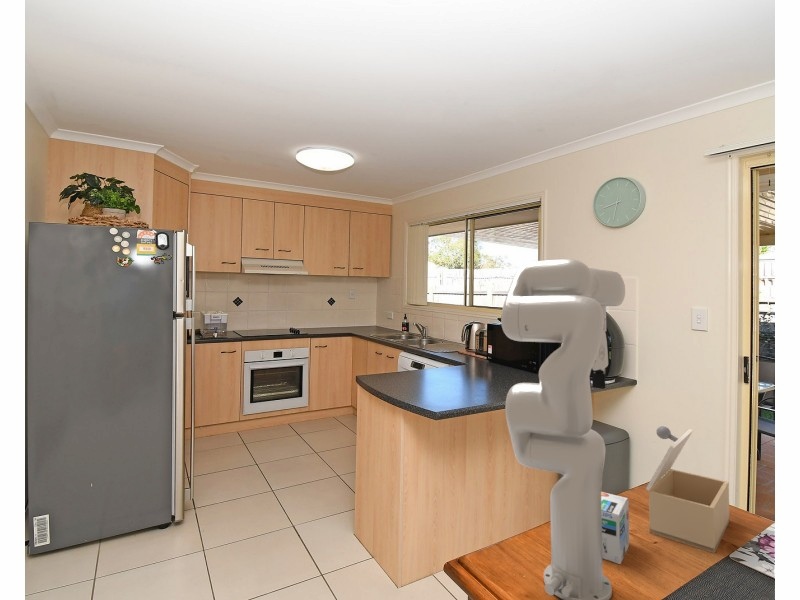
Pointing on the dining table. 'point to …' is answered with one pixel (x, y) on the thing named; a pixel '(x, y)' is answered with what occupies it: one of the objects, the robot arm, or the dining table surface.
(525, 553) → the dining table surface
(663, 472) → the flap
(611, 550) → the light bulb box
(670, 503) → the beige box
